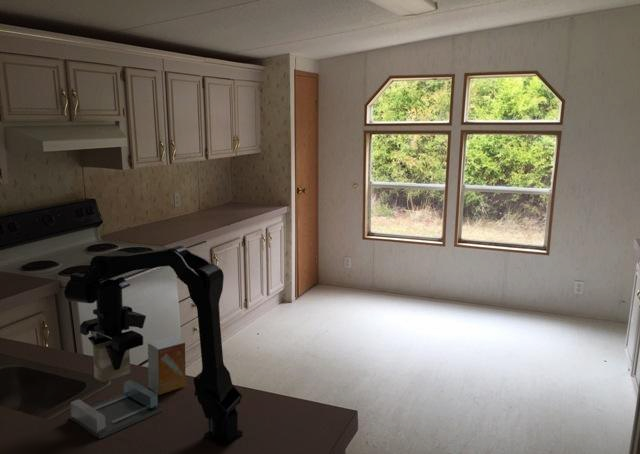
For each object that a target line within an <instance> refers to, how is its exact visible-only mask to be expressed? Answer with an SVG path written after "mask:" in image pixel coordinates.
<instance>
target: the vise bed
mask: <svg viewBox="0 0 640 454" xmlns="http://www.w3.org/2000/svg"><path fill="white" fill-rule="evenodd" d="M163 410H164V409H163V407H162V405H159V404H158V406H156V407H153V408H151V409H150V408H149V407H147V406H145V405H143V404H142V403H140V402H138V401H136V400H135V399H133V398H131V397H129V396H127V395H126V394H124V392H123V393H120V394H118V395H115V396H113V397H111V398H108V399H106V400H102V401H100V402H98V403H95V404H92V405H89V404H87V403H86V402H84V401H83V400H81V399H80V398H78V399H75V400H73V401H70V414H69V419H70V420H72V421H73V422H74V423H75V424H77V425H79V426H80V427H82V428H83V429H84V430H86V432H88V433H90V434H92V435H93V436H94V437H96V438H97V439H98V438H99V440H101V438H102V439H103V438H105V437H108V436H110V435H113V434H115V433H117V432H119V431H122V430H124V429H126V428H129V427H130V426H132V425H135V424H138V423H140V422H143V420H144V421H145V420H146V419H148V418H150V417H152V416H155V415H157V414H160V413H161V412H163Z"/></svg>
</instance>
